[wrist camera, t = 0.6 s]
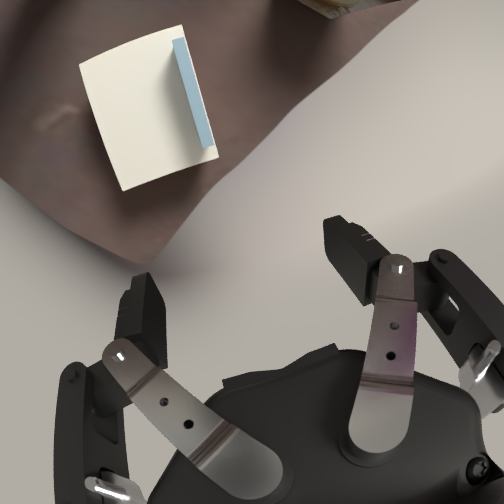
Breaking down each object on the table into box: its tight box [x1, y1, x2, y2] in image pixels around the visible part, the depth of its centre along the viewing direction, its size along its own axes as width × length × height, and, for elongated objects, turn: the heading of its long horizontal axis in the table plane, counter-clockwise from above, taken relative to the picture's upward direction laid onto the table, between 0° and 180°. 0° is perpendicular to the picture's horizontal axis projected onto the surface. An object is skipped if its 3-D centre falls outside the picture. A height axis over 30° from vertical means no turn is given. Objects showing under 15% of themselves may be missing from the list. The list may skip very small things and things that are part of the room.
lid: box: [79, 25, 219, 191], centre depth 22 cm, size 14×10×5 cm
